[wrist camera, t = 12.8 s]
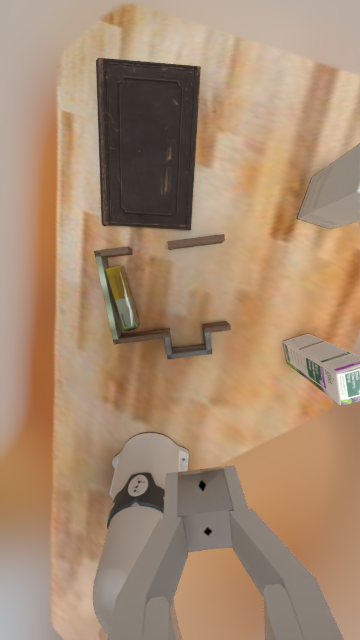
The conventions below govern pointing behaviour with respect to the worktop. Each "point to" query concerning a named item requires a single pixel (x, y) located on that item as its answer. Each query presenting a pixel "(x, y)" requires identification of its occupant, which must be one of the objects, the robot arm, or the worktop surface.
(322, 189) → the supplement box
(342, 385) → the syrup box
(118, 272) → the medication box
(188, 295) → the worktop surface
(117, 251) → the trap corral
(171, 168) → the hardcover book
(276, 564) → the robot arm
